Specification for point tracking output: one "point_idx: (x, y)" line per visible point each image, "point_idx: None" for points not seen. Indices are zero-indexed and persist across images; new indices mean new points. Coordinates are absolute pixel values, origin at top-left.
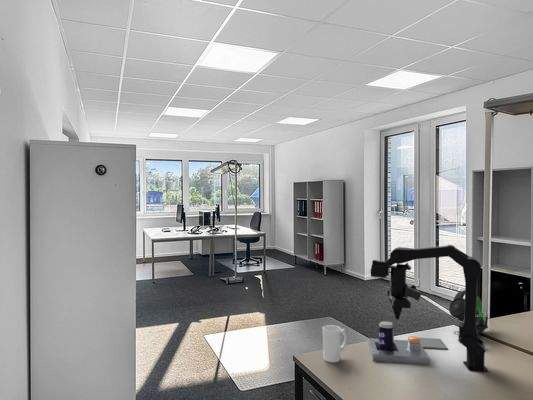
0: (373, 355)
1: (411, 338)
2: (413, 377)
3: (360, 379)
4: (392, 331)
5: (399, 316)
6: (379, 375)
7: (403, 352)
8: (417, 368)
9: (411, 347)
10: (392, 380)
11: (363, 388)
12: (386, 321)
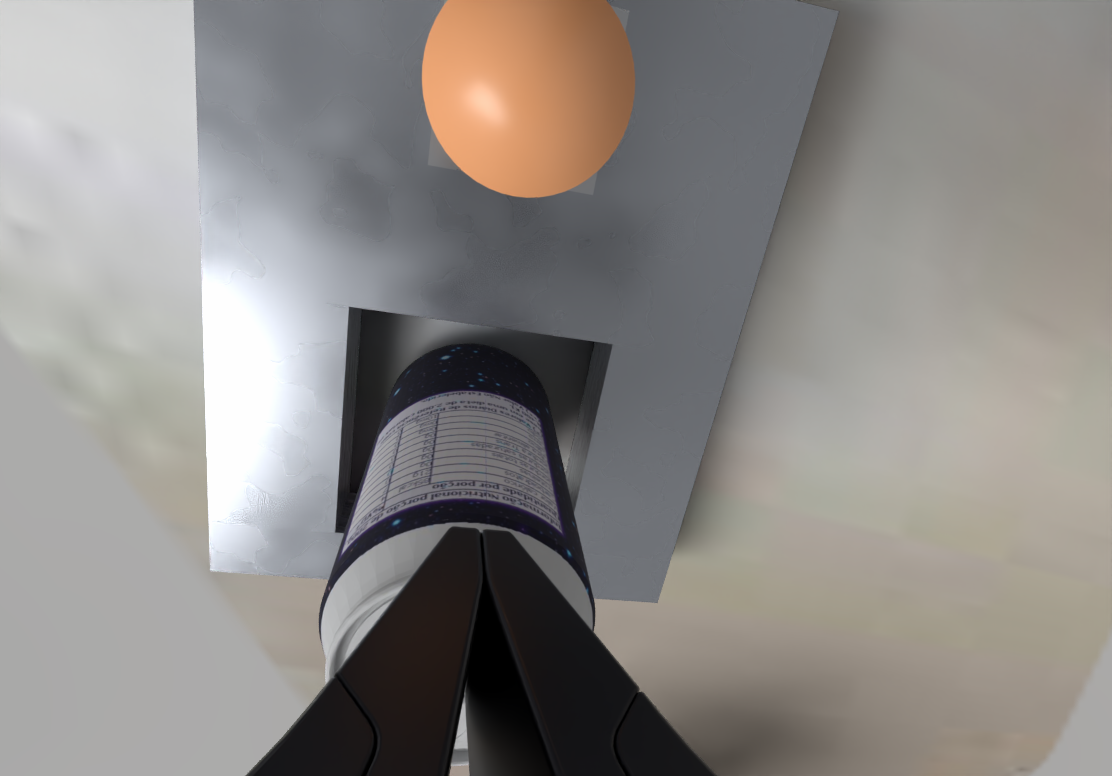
0: (656, 591)
1: (540, 143)
2: (998, 321)
3: (909, 680)
4: (564, 518)
5: (544, 578)
6: (891, 564)
7: (644, 295)
8: (854, 210)
9: None
10: (986, 497)
11: (1016, 679)
12: (338, 649)
